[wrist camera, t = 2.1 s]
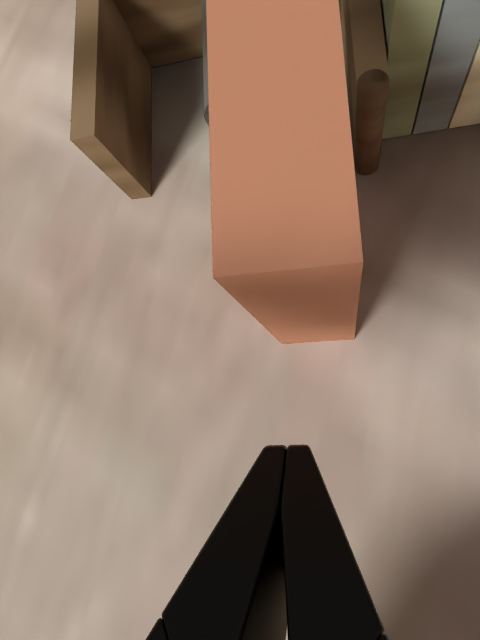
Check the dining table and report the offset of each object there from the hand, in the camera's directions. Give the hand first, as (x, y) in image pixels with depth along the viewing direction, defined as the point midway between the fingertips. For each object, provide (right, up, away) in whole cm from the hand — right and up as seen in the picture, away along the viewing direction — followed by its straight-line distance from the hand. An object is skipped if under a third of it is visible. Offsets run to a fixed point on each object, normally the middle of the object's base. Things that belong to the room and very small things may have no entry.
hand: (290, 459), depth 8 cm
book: (+3, +5, +14) cm, 15 cm away
